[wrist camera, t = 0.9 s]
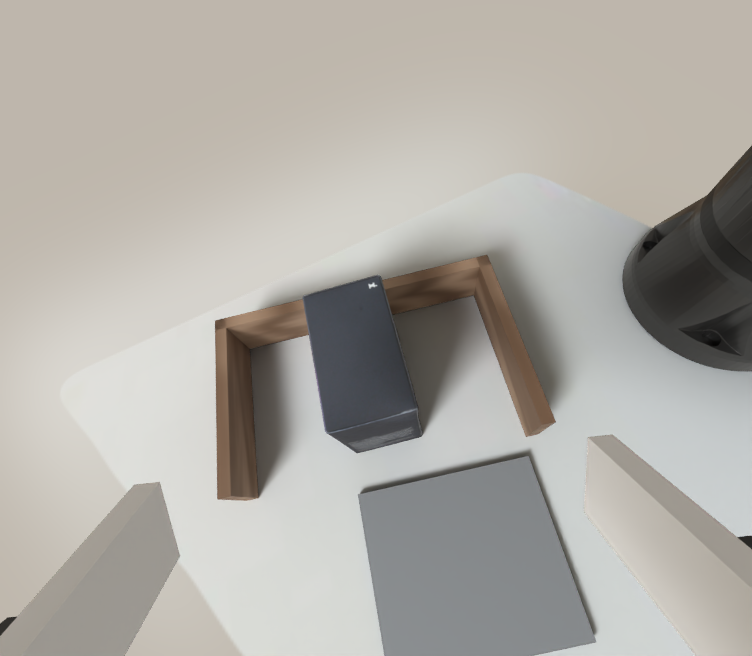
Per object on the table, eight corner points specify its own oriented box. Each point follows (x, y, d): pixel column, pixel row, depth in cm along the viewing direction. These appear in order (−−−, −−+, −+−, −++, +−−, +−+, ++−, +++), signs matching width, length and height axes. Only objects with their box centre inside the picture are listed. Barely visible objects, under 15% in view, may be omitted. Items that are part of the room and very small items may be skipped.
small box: (330, 346, 38) (297, 292, 28) (394, 329, 37) (382, 269, 28) (351, 456, 33) (320, 435, 23) (425, 437, 33) (423, 408, 23)
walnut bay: (480, 284, 38) (487, 254, 34) (538, 434, 32) (555, 421, 27) (239, 342, 39) (215, 320, 34) (246, 500, 32) (217, 499, 28)
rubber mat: (526, 456, 31) (528, 455, 31) (592, 639, 26) (596, 642, 25) (359, 494, 31) (357, 494, 31) (390, 682, 26) (389, 685, 26)
